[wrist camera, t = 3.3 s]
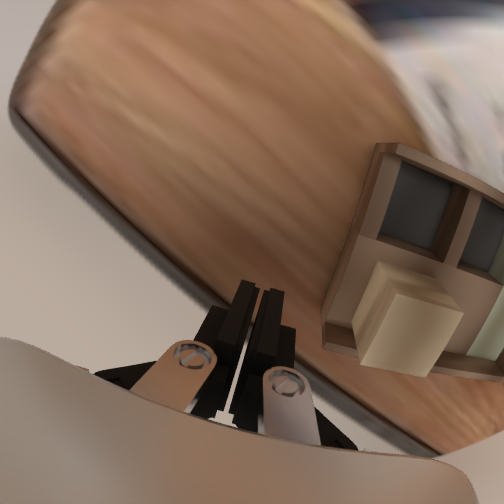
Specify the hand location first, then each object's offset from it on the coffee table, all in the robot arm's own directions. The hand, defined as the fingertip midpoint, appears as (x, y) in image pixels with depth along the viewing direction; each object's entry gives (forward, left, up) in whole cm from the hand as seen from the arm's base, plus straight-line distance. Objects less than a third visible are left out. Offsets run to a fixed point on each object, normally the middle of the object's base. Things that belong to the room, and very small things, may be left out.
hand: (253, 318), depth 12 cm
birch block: (-7, 0, -6) cm, 9 cm away
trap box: (-12, -3, -8) cm, 14 cm away
